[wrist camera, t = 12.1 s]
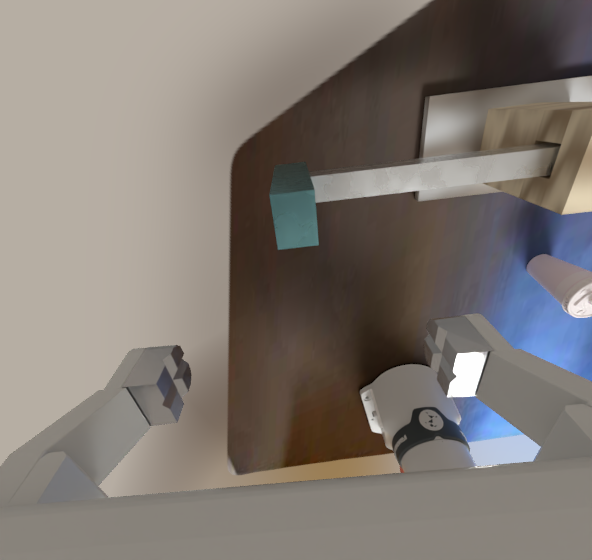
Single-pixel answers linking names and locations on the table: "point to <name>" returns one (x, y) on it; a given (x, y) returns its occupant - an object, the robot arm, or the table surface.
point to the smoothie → (564, 283)
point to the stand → (518, 138)
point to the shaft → (391, 182)
